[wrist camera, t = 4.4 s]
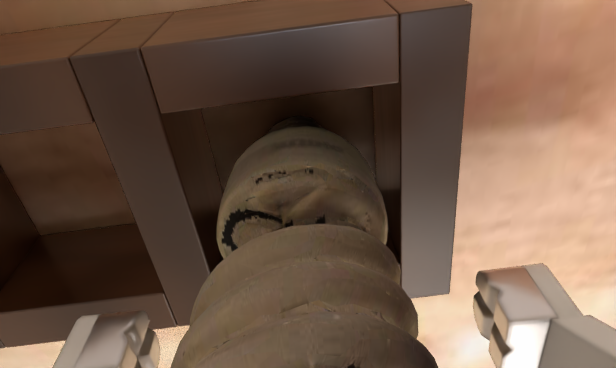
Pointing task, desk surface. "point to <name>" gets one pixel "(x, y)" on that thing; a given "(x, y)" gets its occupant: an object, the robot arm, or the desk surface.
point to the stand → (196, 149)
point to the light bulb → (302, 264)
